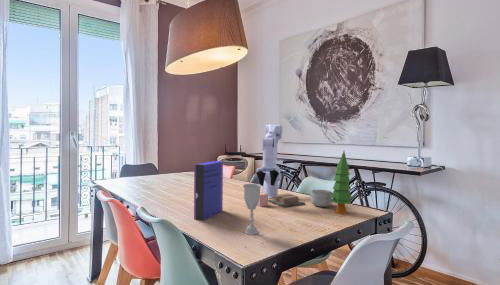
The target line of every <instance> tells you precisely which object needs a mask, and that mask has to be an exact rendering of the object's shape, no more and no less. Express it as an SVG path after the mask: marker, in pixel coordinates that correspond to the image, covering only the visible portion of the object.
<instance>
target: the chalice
mask: <svg viewBox="0 0 500 285" xmlns="http://www.w3.org/2000/svg"><path fill="white" fill-rule="evenodd" d="M242 186H243V188H244V189H243V199H244V202H245V205H246V207H247V209H248V210H250V214H249V216H250V218H249V221H250V222H249V223H250V224H249V225H248V226H247V227H246V229H245V232H244V233H245V234H246V235H250V236H251V235H257V234H258V233H259V231H258V228H257V226H255V224H254V220H255V219H254V215H255V214H254V210H256V208H257V207H258V206H257V204H258V202H259V199H260V193H261V187H262V186H261V185H260V183H246V184H243V185H242Z"/></svg>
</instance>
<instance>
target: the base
mask: <svg viewBox="0 0 500 285" xmlns="http://www.w3.org/2000/svg"><path fill="white" fill-rule="evenodd" d="M268 203H270V204H272V205H275V206H279V207H281V208H291V207H297V206H304V205H306V202H305V201H302V200H299V196H297V195H294V194H291V193H280V194H279V193H278V195H275V198H271V199H268Z"/></svg>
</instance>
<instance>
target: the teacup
mask: <svg viewBox="0 0 500 285" xmlns="http://www.w3.org/2000/svg"><path fill="white" fill-rule="evenodd" d="M332 193H333V191H332V190H330V189H312V190H310V200H311V203H312V204H314V206H315V207H320V208H321V207H323V208H324V207H328V206H329V205H331V204H332V203H334V202H332V200H333V198H331V196H332Z"/></svg>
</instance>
